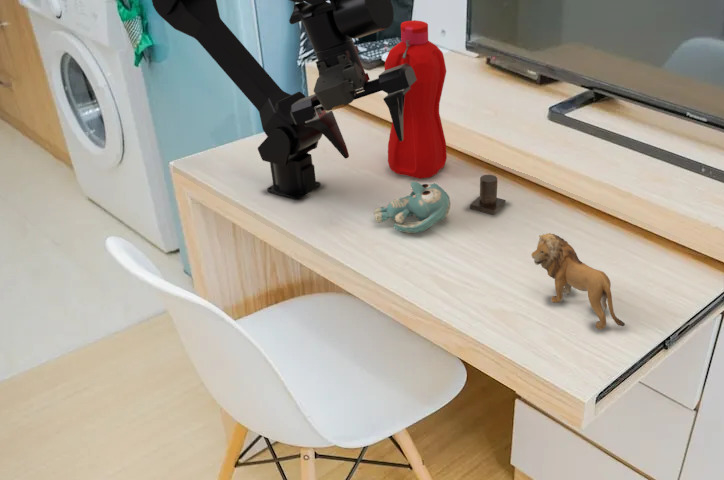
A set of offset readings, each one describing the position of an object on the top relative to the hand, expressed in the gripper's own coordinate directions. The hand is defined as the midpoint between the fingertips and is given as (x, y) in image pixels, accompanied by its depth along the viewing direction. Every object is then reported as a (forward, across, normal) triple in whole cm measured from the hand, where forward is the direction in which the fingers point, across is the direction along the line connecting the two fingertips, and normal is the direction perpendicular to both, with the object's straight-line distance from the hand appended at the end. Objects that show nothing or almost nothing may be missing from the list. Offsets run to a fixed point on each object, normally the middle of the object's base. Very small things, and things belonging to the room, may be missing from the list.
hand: (374, 149), depth 120 cm
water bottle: (+9, -1, +18) cm, 20 cm away
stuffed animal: (+12, +2, -1) cm, 13 cm away
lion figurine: (+24, +25, -20) cm, 40 cm away
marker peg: (+15, +12, +7) cm, 21 cm away
